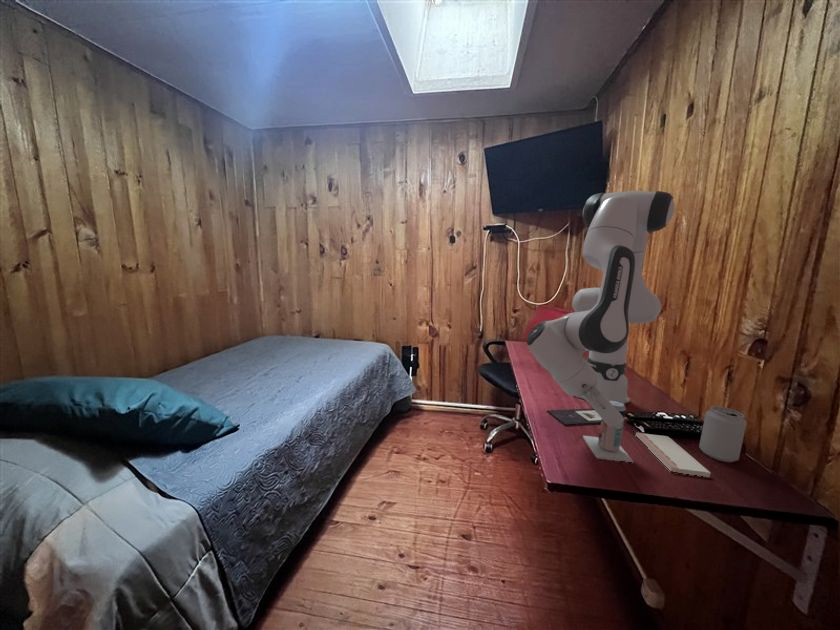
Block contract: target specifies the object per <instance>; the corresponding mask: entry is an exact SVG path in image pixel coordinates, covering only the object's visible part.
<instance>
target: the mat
mask: <svg viewBox="0 0 840 630" xmlns="http://www.w3.org/2000/svg"><path fill="white" fill-rule="evenodd" d="M582 439H583V440H584V441H585V442H586V444H587V446H588V447H589V448H590V450H591V452H592V454H593V455H594V456H595V458H596V459H599V460H605V459H606V461H613V460H614V461H613V462H620V461H625V462H624V463H628V462H632V463H631V464H634V460H633V459H632V457H630V456H629V454H628V453H627V451H626V450H624V448H623V447H622V445H620V449H619V451H616V452H609V451H606V450H604V449H602V448H601V447H600V446H599V445H598V440H599V436H598V437H597V436H590V435H583V436H582Z"/></svg>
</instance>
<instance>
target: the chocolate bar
mask: <svg viewBox="0 0 840 630" xmlns="http://www.w3.org/2000/svg"><path fill="white" fill-rule="evenodd" d="M546 413H548V414H549V415H550V416H551V417H552V418H554V419H555V420H556V421H558V422H559V423H560V424H561V425H563V426H564V427H570V426H588V425H589V426H590V425H601V420H602V418H601V417H600V416H599V414H598V413H597V412H596V411H595V410H594V409H593V408H576V409H575V408H573V409H571V408H570V409H553V410H551V409H550V410H546Z"/></svg>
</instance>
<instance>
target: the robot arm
mask: <svg viewBox="0 0 840 630" xmlns="http://www.w3.org/2000/svg"><path fill="white" fill-rule="evenodd" d="M675 207H676V206H675V201H674V197H673V195H672V194H671V193H670V192H666V191H662V190H657V191H650V190H648V191H647V190H628V191H615V192H607V193H605V192H599V193H595V194H593V195H591V196H590V197H589V198H588V199H587V200H586V202H585V204H584V207H583V209H582V221H583V224H584V225H585V226H586V228H588V230H587V233H586V236H585V239H584V241H583V246H582V256H583V259H584V261H585V262H586V264H588V265H590V266H591V267H592V268H595V269H597V270H599V271H602V277H601V284H600V287H587V288H581V289H579V290H578V291H577V292H576V293H575V295H574V296H573V299H572V308H573V310H574V312H570V313H567V314H565V315H563V316H561V317H559V318H556V319H553V320H552V319H551V320H542V321H540V322H539V323H537V324H536V325H535V326H534V327H533V328H532V329H531V330H530V331H529V333H528V334H527V337H526V345H527V348H528V350H529V351H530V352H531V354H532V356H533V357H534V358H535V359H536V361H537V362H538V363H539V364H540V366H541V367H542V368H544V369H545V370H546V371H548V372H549V373H550V375H551V376H552V379H553V380H554V382H555V383H556V384H557V385H558V386H559V387H560V388H561V390H563V392H564V393H565V394H566V395H568V396H570V397H576V398H580V399H583V400H585V401H586V402H587V403H588V404H589V406H590V407H591V409H594V410H595V411H596V412H597V413H598V414H599V416H600V417H601V418H602V419H603V420H604V421H605V422H606V423H607V425H608V426H610V427H615V428H616V429H620V428H621V427H623V428H624V423H623V424H622V423H621V421H623V419H624V420H625V417H624V418H623V416H622V415H621V414H620V413H619V411H618V410H617V409H616V408H615V407H614V406H613V405H612V404H611V402H610V401H609V400H615V401H619V402H622V403H623V404H624V405H625V404H627V403H630V402H631V398H629V397H628V377H626V376H625V374H626V369H627V363H626V357H627V352H628V351H627V350H628V346H629V345H628V344H629V343H628V338H629V334H630V325H629V324H647V323H648V324H649V323H652V322H654V321H655V320H656V319H657V318H658V317H659V316H660V313H661V310H662V303H661V300H660V299H659V297H658V296H657V294H655V293H654V292H653V291H652V290H650V288H649V287H648V286H647V284H646V283H645V281H644V278H643V265H644V258H645V253H646V247H647V241H648V235H651V234H653V233H655V232H657V231H658V232H659V231H661V230H663V229H664V228H666V227H667V226H668V224H669V223H670V221H671V220H672V219H673V216H674V213H675ZM586 351H587V352H588V353H589V354H588V356H587V357H586V359H585V358H584V356H583V355H584V353H585V352H586Z"/></svg>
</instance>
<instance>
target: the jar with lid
mask: <svg viewBox="0 0 840 630" xmlns="http://www.w3.org/2000/svg"><path fill="white" fill-rule="evenodd" d="M609 401H610V402H611V404H612V405H613V406H614V407H615V408H616V409H617V410H618V411H619V413H620V414H621V415H622V416H623V418H624V419H623V421H621V423H622V424H623V425H624V423H625V415H626V410H627V408H626V405H625V404H623V403H622V402H619V401H615V400H609ZM623 428H624V426H623V427H621V428H620V429H616V428H615V427H610V426H608V425H607V423H606V422H605V421H604V420H603V419H602V420H601V424H600V426H599V434H598V437H599V440H598V445H599V446H600V447H601V448H602V449H604V450H606V451H609V452H616V451H619V449H620V446H621V442H622V435H623Z"/></svg>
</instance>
